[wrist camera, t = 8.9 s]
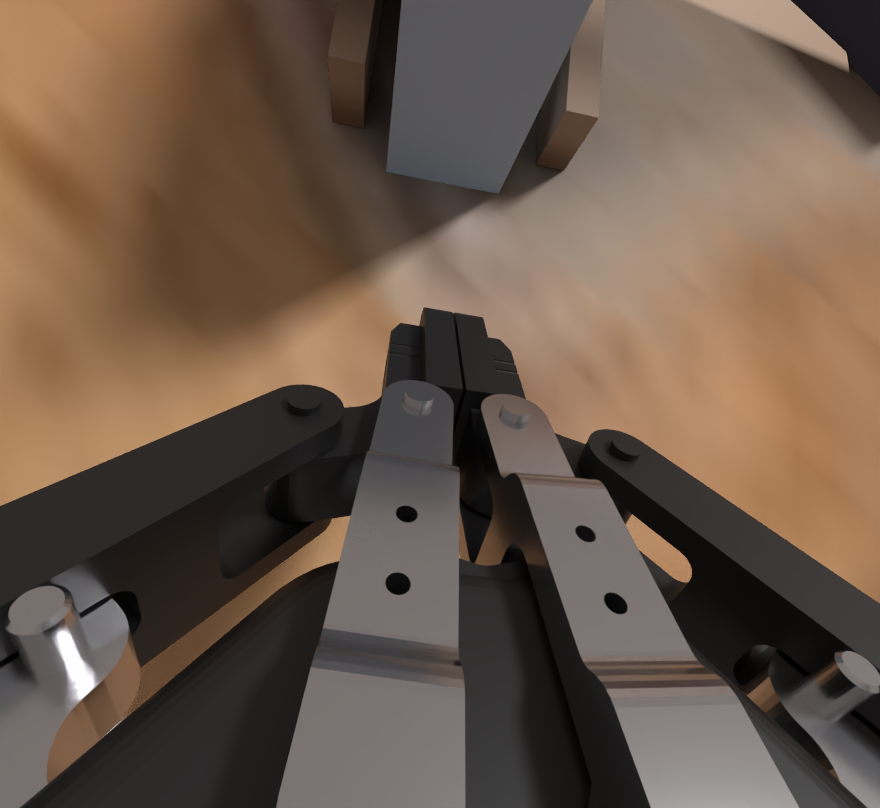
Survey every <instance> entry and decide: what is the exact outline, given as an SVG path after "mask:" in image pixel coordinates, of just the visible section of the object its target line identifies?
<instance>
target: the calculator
mask: <svg viewBox="0 0 880 808" xmlns="http://www.w3.org/2000/svg"><path fill="white" fill-rule="evenodd" d="M791 1H792V2H793V3H795V5H797V6H798V7H799V8H800V9H801V10H802V11H803V12H804V13H805V14H806V15H807V16H808V17H809V18H811V19H812V20H813V21H814V22H815V23H816V24H817V25H818V26H819V27H820V28H821V29H822V30H824V31H825V32H826V33H827V34H828V35H829V36H830V37H831V38H832V39H833V40H834V41H836V43H838V45H840V46H841V47H842V48H843V49H844V50H845V51H846V53H847V56H848V65H849V69H852V70H854V71H856V72H857V73H858V74H859V75H860V76H861V77H862V78H863V79H864V80H865V81H866V82H867V83H868V85H869V86H870V87H871V88H872V89H873V90H874V91H875V92H876V93H877V94H878V95H879V96H880V0H791Z"/></svg>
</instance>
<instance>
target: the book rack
mask: <svg viewBox="0 0 880 808" xmlns="http://www.w3.org/2000/svg"><path fill="white" fill-rule="evenodd" d="M382 6H383V0H337V4H336V10H335V16H334V22H333V27H332V33H331V39H330V45H329V51H328V67H329V81H330V95H331V109H332V121H333V122H337V123H342V124H347V125H352V126H356V127H361V128H364V123H365V116H366V110H367V103H368V97H369V90H370V84H371V77H372V71H373V64H374V58H375V51H376V45H377V38H378V32H379V25H380V19H381V12H382ZM604 16H605V0H593V1H592V3H591V5H590V7H589V9H588V12H587V14H586V16H585V18H584V20H583V22H582V24H581V26H580V28H579V30H578V32H577V34H576V36H575V38H574V40H573V42H572V44H571V46H570V48H569V51H568V53H567V55H566V57H565V59H564V61H563V63H562V65H561V67H560V69H559V71H558V73H557V75H556V77H555V79H554V81H553V83H552V85H551V87H550V90H549V92H548V94H547V96H546V98H545V100H544V102H543V104H542V106H541V110H540V122H539V134H538V146H537V158H536V165H540V166H545V167H550V168H554V169H559V170H564V169H565V168H566V166H567V165H568V163H569V162H570V160H571V159H572V157H573V156H574V154H575V153H576V151H577V150H578V148H579V147H580V145H581V144H582V142H583V141H584V139H585V138H586V136H587V135H588V133H589V131H590V130H591V128H592V127H593V125H594V124H595V122H596V121H597V119H598V118H599V101H600V84H601V67H602V50H603V33H604Z"/></svg>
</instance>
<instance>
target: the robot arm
mask: <svg viewBox="0 0 880 808" xmlns="http://www.w3.org/2000/svg"><path fill="white" fill-rule="evenodd" d="M632 514H633V515H634V516H635V517H637V518H638V519H639V520H640V521H642V522H643V523H644V524H646V525H647V526H648V527H649V528H651V529H652V530H653V531H654V532H656V533H657V534H658V535H660V536H661V537H662V538H663V539H665V540H666V541H667V542H668V543H670V544H671V545H672V546H674V547H675V548H676V549H677V550H679V551H680V552H681V553H682V554H683V555H684V556H685V557H686V558H687V559H688V561H689V563H690V565H691V568H692V577H691V579H690V581H689V582H688V583H685V582H680V581H677V580H676V579H674V578H672V577H671V576H670V575H669V574H667V573H666V572H665V571H664V570H663V569H661V568H660V567H659V566H658V565H656V564H655V563H654V562H653V561H652V560H650V559H649V558H648V557H647V556H646V555H644V554H643V553H642V552H641V551H640V550H638V548H637V546H636V544H635V542H634V541H633V539H632V537H631V535H630V533H629V531H628V529H627V527H626V525H625V524H626V523H627V521H628V520H629V518H630V516H631V515H632ZM350 515H351V517H350V521H349V525H348V529H347V533H346V537H345V541H344V545H343V549H342V553H341V557H340V561H338V562H334V563H330V564H327V565H324V566H321V567H319V568H316V569H313V570H311V571H309V572H307V573H305V574H303V575H301V576H299V577H297V578H295V579H294V580H292V581H291V582H289V583H288V584H286V585H285V586H283V587H282V588H280V589H279V590H278V591H276V592H275V593H274V594H273V595H271V596H270V597H269V598H268V599H267V600H265V601H264V602H263V603H262V604H261V605H260V606H258V607H257V608H256V609H255V610H254V611H252V612H251V613H250V614H249V615H248V616H246V617H245V618H244V619H243V620H242V621H241V622H239V623H238V624H237V625H236V626H235V627H233V628H232V629H231V630H230V631H229V632H228V633H226V634H225V635H224V636H223V637H222V638H220V639H219V640H218V641H217V642H216V643H214V644H213V645H212V646H211V647H210V648H209V649H207V650H206V651H205V652H204V653H203V654H201V655H200V656H199V657H198V658H197V659H196V660H194V661H193V662H192V663H191V664H190V665H188V666H187V667H186V668H185V669H184V670H183V671H181V672H180V673H179V674H178V675H177V676H175V677H174V678H173V679H172V680H171V681H169V682H168V683H167V684H166V685H165V686H164V687H162V688H161V689H160V690H159V691H158V692H156V693H155V694H154V695H153V696H152V697H151V698H149V699H148V700H147V701H146V702H145V703H143V704H142V705H141V706H140V707H139V708H137V709H136V710H135V711H134V712H133V713H132V714H130V715H129V716H128V717H127V718H126V719H124V720H123V721H122V722H121V723H120V724H119V725H117V726H116V727H115V728H114V729H113V730H112V731H110V729H112V728H113V727H114V726H115V725H116V724H117V723H118V722H119V721H120V719H121V718H122V717H123V716H124V715H125V713H126V712H127V711H128V709H129V707H130V706H131V704H132V703H133V701H134V699H135V696H136V694H137V692H138V688H139V685H140V679H141V669H140V668H141V667H142V666H143V665H145V664H146V663H147V662H149V661H150V660H151V659H153V658H154V657H156V656H157V655H158V654H160V653H161V652H162V651H164V650H165V649H166V648H168V647H169V646H170V645H172V644H173V643H174V642H176V641H177V640H178V639H180V638H181V637H182V636H184V635H185V634H186V633H188V632H189V631H190V630H192V629H193V628H194V627H196V626H197V625H199V624H200V623H201V622H203V621H204V620H205V619H207V618H208V617H209V616H211V615H212V614H213V613H215V612H216V611H217V610H219V609H220V608H221V607H223V606H224V605H225V604H227V603H228V602H229V601H231V600H232V599H233V598H235V597H236V596H238V595H239V594H240V593H242V592H243V591H244V590H246V589H247V588H248V587H250V586H251V585H252V584H254V583H255V582H256V581H258V580H259V579H260V578H262V577H263V576H264V575H266V574H267V573H268V572H270V571H271V570H272V569H274V568H275V567H277V566H278V565H279V564H281V563H282V562H283V561H285V560H286V559H287V558H289V557H290V556H291V555H293V554H294V553H295V552H297V551H298V550H299V549H301V548H302V547H303V546H305V545H306V544H307V543H309V542H310V541H311V540H313V539H314V538H315V537H317V536H318V535H320V534H321V533H322V532H323V531H324V530H326V528H327V527H328V526H329V524H330V522H331V519H332V518H338V517H344V516H350ZM459 554H460V558H459ZM108 731H110V732H109V733H108V734H107V735H105V734H106V733H107V732H108ZM104 735H105V736H104ZM103 736H104V737H103ZM102 737H103V738H102ZM101 738H102V739H101ZM100 739H101V740H100ZM99 740H100V741H99ZM0 808H880V604H879V603H878V602H876V601H875V600H873V599H872V598H870V597H869V596H867V595H866V594H864V593H863V592H862V591H860V590H859V589H857V588H856V587H854V586H853V585H851V584H850V583H848V582H847V581H845V580H844V579H842V578H841V577H839V576H838V575H837V574H835V573H834V572H832V571H831V570H829V569H828V568H826V567H825V566H823V565H822V564H820V563H819V562H817V561H816V560H815V559H813V558H812V557H810V556H809V555H807V554H806V553H804V552H803V551H801V550H800V549H798V548H797V547H795V546H794V545H793V544H791V543H790V542H788V541H787V540H785V539H784V538H782V537H781V536H779V535H778V534H776V533H775V532H773V531H772V530H771V529H769V528H768V527H766V526H765V525H763V524H762V523H760V522H759V521H757V520H756V519H754V518H753V517H751V516H750V515H748V514H747V513H746V512H744V511H743V510H741V509H740V508H738V507H737V506H735V505H734V504H732V503H731V502H729V501H728V500H726V499H725V498H724V497H722V496H721V495H719V494H718V493H716V492H715V491H713V490H712V489H710V488H709V487H707V486H706V485H704V484H703V483H702V482H700V481H699V480H697V479H696V478H694V477H693V476H691V475H690V474H688V473H687V472H685V471H684V470H682V469H681V468H680V467H678V466H677V465H675V464H674V463H672V462H671V461H669V460H668V459H666V458H665V457H663V456H662V455H660V454H659V453H658V452H656V451H655V450H653V449H652V448H650V447H649V446H647V445H646V444H644V443H643V442H641V441H640V440H638V439H636V438H635V437H633V436H631V435H628V434H626V433H623V432H620V431H616V430H609V429H603V430H598V431H595V432H593V433H592V434H591V435H590V437H589V439H588V441H587V443H586V444H583V443H580V442H578V441H575V440H572V439H569V438H566V437H563V436H561V435H558V434H556V433H554V431H553V429H552V427H551V424H550V422H549V420H548V418H547V416H546V414H545V413H544V412H543V411H542V410H541V409H540V408H539V407H538V406H537V405H535V404H534V403H532V402H530V401H528V400H526V398H525V395H524V391H523V388H522V385H521V382H520V379H519V375H518V374H517V369H516V366H515V365H514V359H513V356H512V353H511V351H510V350H509V348H508V347H507V346H506V345H505V344H504V343H503V342H502V341H501V340H500V339H494V338H488V336H487V332H486V328H485V324H484V320H483V318H482V317H477V316H472V315H466V314H460V313H454V314H453V313H452V312H448V311H442V310H436V309H431V308H425V307H424V308H423V311H422V315H421V320H420V325H419V326H416V325H410V324H404V323H400V324H399V325H398V326H397V327H395V328H394V329H393V330H392V331H391V336H390V342H389V348H388V354H387V360H386V367H385V373H384V379H383V386H382V396H381V397H380V398H379V399H378V400H376V401H375V402H373V403H370V404H367V405H364V406H359V407H348V408H344V406H343V403H342V401H341V400H340V399H339V398H338V397H337V396H336V395H335V394H334V393H332V392H330V391H328V390H326V389H324V388H321V387H317V386H312V385H290V386H285V387H282V388H279V389H276V390H274V391H272V392H269V393H267V394H264V395H262V396H260V397H257V398H255V399H253V400H250V401H248V402H246V403H243V404H241V405H238V406H236V407H234V408H231V409H229V410H227V411H224V412H222V413H220V414H217V415H215V416H212V417H210V418H208V419H205V420H203V421H201V422H198V423H196V424H194V425H191V426H189V427H186V428H184V429H182V430H179V431H177V432H175V433H172V434H170V435H168V436H165V437H163V438H160V439H158V440H156V441H153V442H151V443H149V444H146V445H144V446H141V447H139V448H137V449H134V450H132V451H130V452H127V453H125V454H123V455H120V456H118V457H115V458H113V459H111V460H108V461H106V462H104V463H101V464H99V465H97V466H94V467H92V468H89V469H87V470H85V471H82V472H80V473H78V474H75V475H73V476H71V477H68V478H66V479H63V480H61V481H59V482H56V483H54V484H52V485H49V486H47V487H45V488H42V489H40V490H37V491H35V492H33V493H30V494H28V495H26V496H23V497H21V498H18V499H16V500H14V501H11V502H9V503H7V504H4V505H2V506H0Z"/></svg>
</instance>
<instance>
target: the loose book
mask: <svg viewBox="0 0 880 808" xmlns="http://www.w3.org/2000/svg"><path fill="white" fill-rule="evenodd" d="M592 1H593V0H402V1H401V12H400V23H399V34H398V45H397V56H396V67H395V79H394V90H393V101H392V112H391V123H390V134H389V145H388V156H387V167H386V172H390V173H395V174H400V175H405V176H410V177H415V178H420V179H425V180H430V181H435V182H440V183H445V184H450V185H455V186H460V187H465V188H470V189H475V190H481V191H486V192H491V193H496V194H499V192H500V190H501V188H502V186H503V184H504V182H505V180H506V178H507V176H508V174H509V172H510V170H511V168H512V165H513V163H514V161H515V159H516V157H517V155H518V153H519V151H520V149H521V147H522V145H523V143H524V141H525V139H526V137H527V135H528V133H529V131H530V129H531V126H532V124H533V122H534V120H535V118H536V116H537V114H538V112H539V110H540V108H541V106H542V104H543V102H544V100H545V98H546V96H547V94H548V92H549V90H550V87H551V85H552V83H553V81H554V79H555V77H556V75H557V73H558V71H559V69H560V67H561V65H562V63H563V61H564V59H565V57H566V55H567V53H568V51H569V48H570V46H571V44H572V42H573V40H574V38H575V36H576V34H577V32H578V30H579V28H580V26H581V24H582V22H583V20H584V18H585V16H586V14H587V12H588V9H589V7H590V5H591V3H592Z"/></svg>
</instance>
